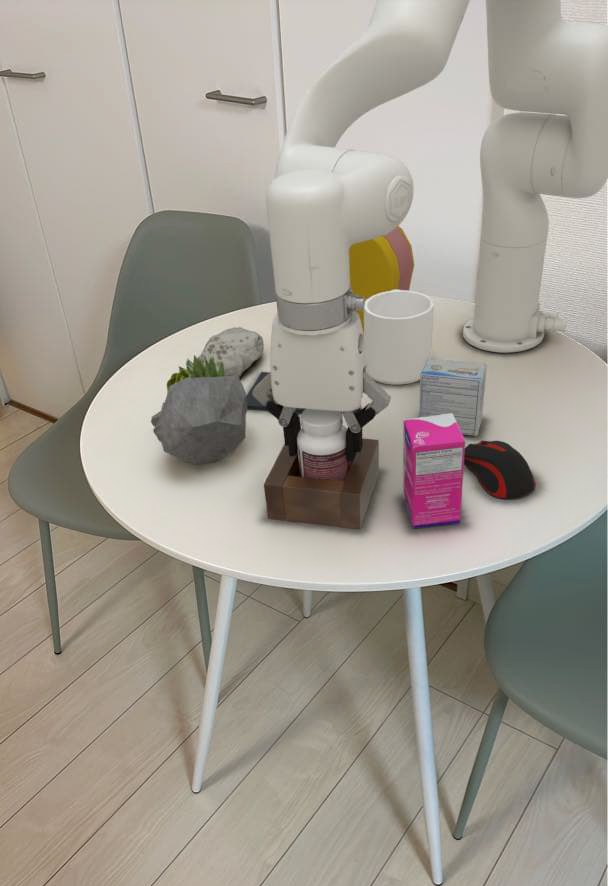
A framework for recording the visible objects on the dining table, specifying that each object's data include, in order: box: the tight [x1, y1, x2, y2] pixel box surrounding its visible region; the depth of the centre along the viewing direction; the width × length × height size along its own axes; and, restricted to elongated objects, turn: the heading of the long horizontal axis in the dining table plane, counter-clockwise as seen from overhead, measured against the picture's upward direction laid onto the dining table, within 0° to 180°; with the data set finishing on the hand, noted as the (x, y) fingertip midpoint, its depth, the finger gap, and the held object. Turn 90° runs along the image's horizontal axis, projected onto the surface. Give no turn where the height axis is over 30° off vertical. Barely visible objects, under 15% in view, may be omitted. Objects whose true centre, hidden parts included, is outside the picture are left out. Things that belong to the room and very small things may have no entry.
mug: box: [364, 289, 435, 386], centre depth 112 cm, size 13×10×10 cm
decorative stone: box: [198, 326, 265, 379], centre depth 117 cm, size 12×11×5 cm
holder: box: [263, 437, 380, 530], centre depth 90 cm, size 11×11×5 cm
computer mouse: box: [464, 439, 537, 500], centre depth 91 cm, size 6×11×4 cm, turn 20°
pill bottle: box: [297, 409, 351, 482], centre depth 88 cm, size 6×6×11 cm
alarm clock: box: [349, 225, 415, 334], centre depth 121 cm, size 15×8×18 cm, turn 59°
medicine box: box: [418, 358, 488, 437], centre depth 99 cm, size 8×4×9 cm, turn 71°
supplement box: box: [402, 413, 466, 529], centre depth 84 cm, size 6×6×12 cm
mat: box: [246, 371, 305, 414], centre depth 111 cm, size 12×10×1 cm
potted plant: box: [150, 354, 248, 466], centre depth 99 cm, size 12×13×15 cm
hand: (324, 451), depth 88 cm, fingers closed on pill bottle, 6 cm apart
